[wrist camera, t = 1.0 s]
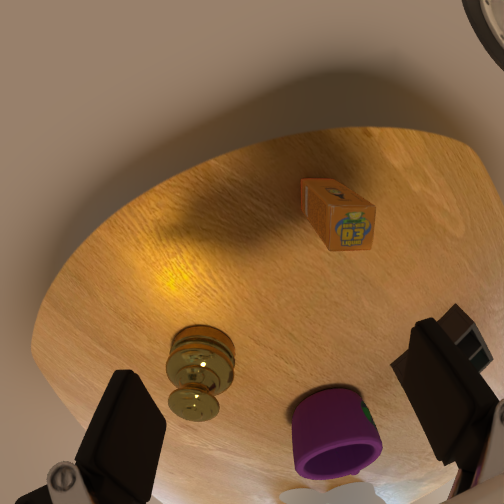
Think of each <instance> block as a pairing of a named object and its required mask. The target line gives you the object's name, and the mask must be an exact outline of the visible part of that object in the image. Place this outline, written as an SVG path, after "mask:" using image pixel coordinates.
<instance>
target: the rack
mask: <svg viewBox="0 0 504 504" xmlns="http://www.w3.org/2000/svg"><path fill="white" fill-rule="evenodd" d="M437 323H438V324H439V325H440V326H441V328H442V329H443V330H444V331H445V332H446V334H447V335H448V336H449V337H450V338H451V340H452V341H453V342H454V343H455V345H456V346H457V347H458V348H460V349H461V350H462V351H463V353H464V354H465V355H466V356H467V358H468V359H469V360H470V362H471V363H472V364H473V365H474V367H475V368H476V369H477V371H478V372H479V373H481V372H482V371H483V370H484V369H485V368H486V367H487V366H488V365H489V364H490V362H491V361H492V360H493V357H492V355H491V353H490V351H489V349H488V347H487V345H486V343H485V341H484V339H483V337H482V335H481V333H480V331H479V330H478V328H477V326H476V324H475V322H474V321H473V320H472V319H471V318H470V317H469V316H468V315H467V314H466V313H465V312H464V311H463V310H462V309H461V308H460V307H459V306H458V305H457V304H455V305H454V306H453V307H452V308H451V309H450V310H449V311H448V312H447V313H446V314H445V315H444V316H443V317H442V318H441V319H440V320H439V321H438V322H437ZM407 355H408V350H407V351H406V352H405V353H404V354H403V355H401V356H400V357H399V358H398V359H397V360H396V361H394V362H393V363H392V364H391V366H392V368H393V370H394V372H395V374H396V376H397V378H398V380H399V382H400V384H401V386H402V388H403V377H404V372H405V366H406V361H407ZM403 389H404V388H403Z"/></svg>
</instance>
